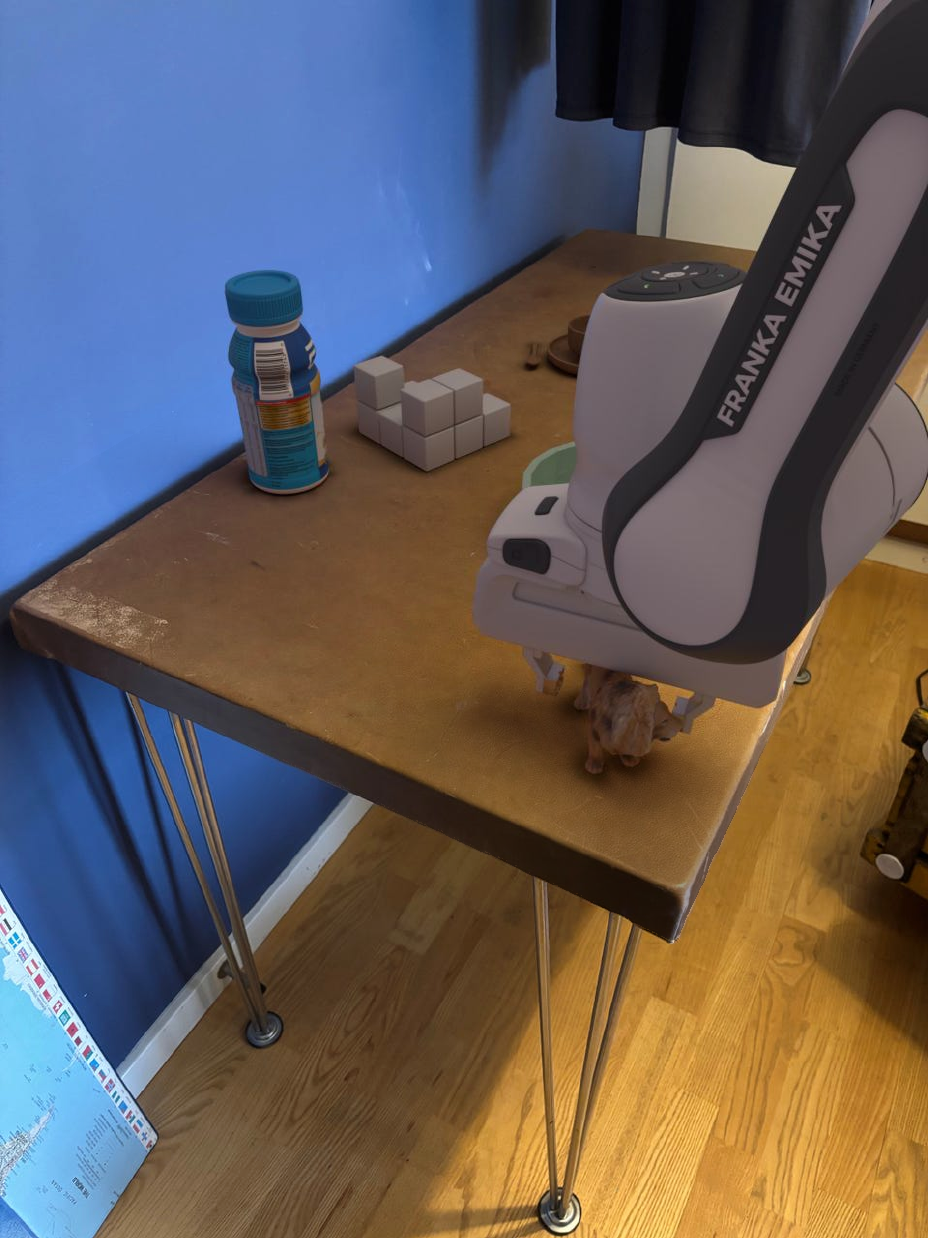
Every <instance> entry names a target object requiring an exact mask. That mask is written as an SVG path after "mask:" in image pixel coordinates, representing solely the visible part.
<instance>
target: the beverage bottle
mask: <svg viewBox="0 0 928 1238" xmlns="http://www.w3.org/2000/svg"><path fill="white" fill-rule="evenodd" d="M224 295H225V302H226V306H227V311H228V315H229V318H230V321H231V322H232V324H233V325H235V326H236V327H235V329H234V332H233V334H232V336H231V339H230V341H229V344H228V345H229V346H228V353H227V358H228V359H227V360H228V363H229V365H230V366H231V367H232V369H233V372H232V374H231V379H230V381H231V389H232V392H233V395H234V397H235V402H236V408H237V412H238V417H239V422H240V428H241V434H242V439H243V444H244V445H243V446H244V449H245V455H246V461H247V471H248V476H249V479H250V481H251V483H252V484H253V485H254V486H255V487H256V488H258V489H259V490H262V491H263V492H267V493H271V494H276V495H291V494H296V493H297V494H299V493H302V492H306V491H309V490H312V489H314V488H316V487H317V486H319V485H320V484H322V483H323V482H324V481H325V480H326V478H327V477H328V474H329V472H330V464H329V463H330V462H329V457H328V449H327V440H326V431H325V423H324V422H325V421H324V412H323V402H322V394H321V386H322V385H321V384H322V380H321V379H322V378H321V373H320V370H319V368H318V367H317V365H316V364H315V359H316V356H317V348H316V346H315V342H314V340H313V339H312V337H311V334H310V333H309V332H308V330H307V328H306V327H305V326H304V325H303V323H301V321H300V320H301V319H302V317H303V312H304V306H303V296H302V295H303V294H302V289H301V284H300V281H299V278H298V277H297V275H294V274H293V273H291V272H287V271H283V270H275V269H261V270H252V271H246V272H242V273H239V274H235V275H234V276H232V277H231V278H228V280H227V281H226V282H225V285H224Z"/></svg>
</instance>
